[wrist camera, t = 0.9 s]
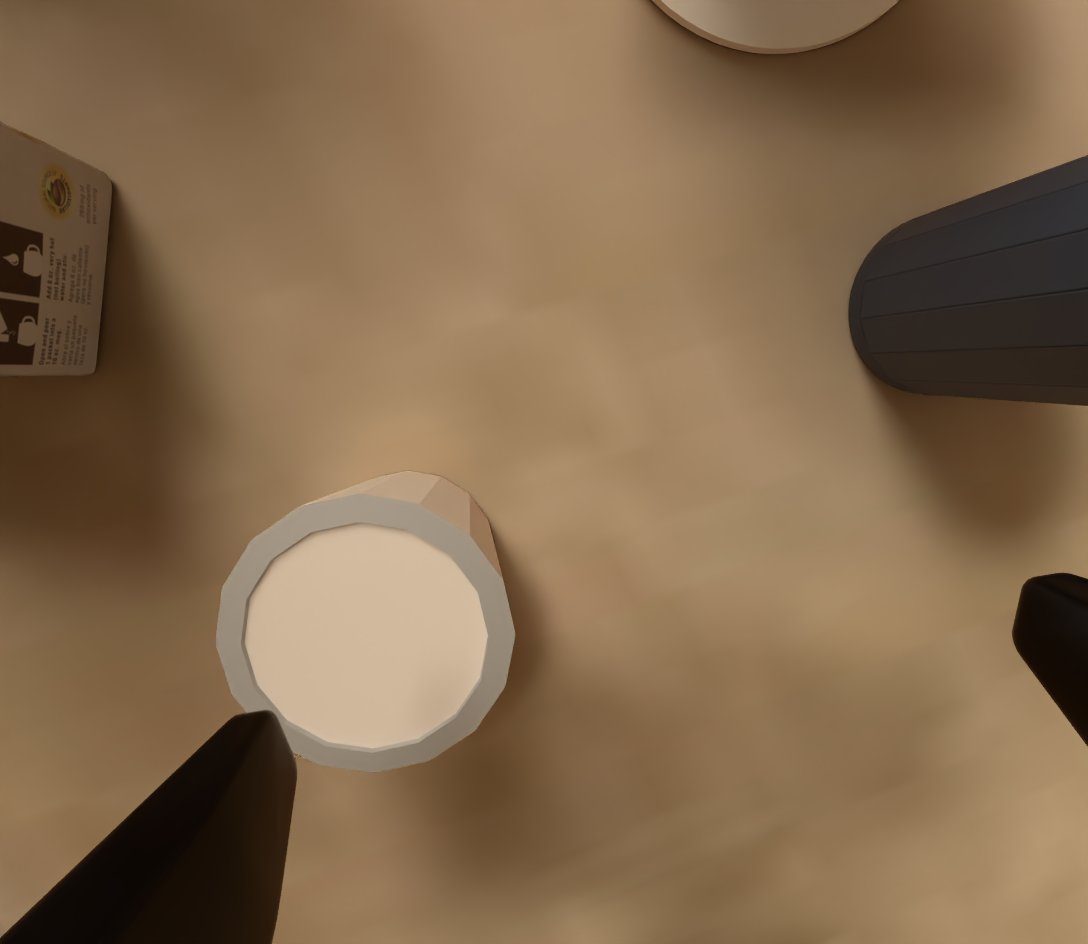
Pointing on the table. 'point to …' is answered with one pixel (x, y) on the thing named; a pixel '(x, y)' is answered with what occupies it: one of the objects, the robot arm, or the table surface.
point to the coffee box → (50, 258)
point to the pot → (984, 295)
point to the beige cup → (370, 623)
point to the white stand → (774, 21)
